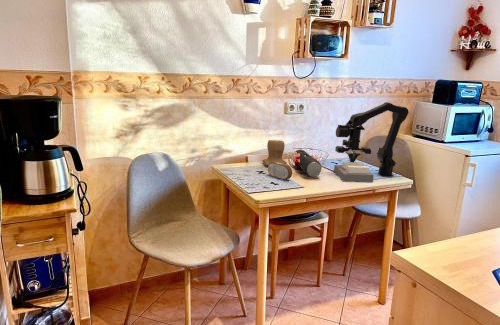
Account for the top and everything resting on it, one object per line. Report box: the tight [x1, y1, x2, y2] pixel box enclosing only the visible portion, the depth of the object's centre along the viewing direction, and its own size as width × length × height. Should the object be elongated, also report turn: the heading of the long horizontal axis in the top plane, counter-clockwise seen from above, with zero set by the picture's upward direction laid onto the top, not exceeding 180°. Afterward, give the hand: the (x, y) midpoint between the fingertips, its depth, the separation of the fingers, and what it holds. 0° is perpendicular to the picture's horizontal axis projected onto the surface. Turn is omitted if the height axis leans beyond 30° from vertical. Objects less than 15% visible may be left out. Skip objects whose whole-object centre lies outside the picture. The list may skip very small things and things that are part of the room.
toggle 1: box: [341, 161, 365, 169], centre depth 208 cm, size 11×3×3 cm, turn 93°
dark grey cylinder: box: [294, 149, 322, 178], centre depth 212 cm, size 10×28×10 cm, turn 8°
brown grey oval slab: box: [267, 161, 293, 181], centre depth 199 cm, size 15×3×8 cm, turn 47°
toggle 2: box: [347, 165, 370, 173], centre depth 200 cm, size 11×3×3 cm, turn 93°
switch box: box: [333, 164, 375, 183], centre depth 208 cm, size 16×19×4 cm
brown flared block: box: [262, 139, 287, 166], centre depth 225 cm, size 15×12×15 cm
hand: (351, 164), depth 211 cm, fingers closed
